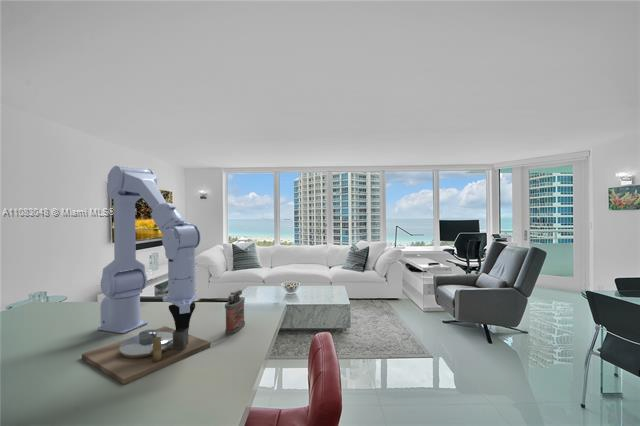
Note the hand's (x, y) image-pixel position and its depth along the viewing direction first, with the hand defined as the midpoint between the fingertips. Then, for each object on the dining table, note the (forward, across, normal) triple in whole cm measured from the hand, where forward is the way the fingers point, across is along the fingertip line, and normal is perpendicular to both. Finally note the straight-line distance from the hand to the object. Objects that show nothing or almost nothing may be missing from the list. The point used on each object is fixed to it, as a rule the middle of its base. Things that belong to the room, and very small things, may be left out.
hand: (182, 334), depth 73 cm
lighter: (+3, -6, +14) cm, 15 cm away
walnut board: (+3, -2, -7) cm, 8 cm away
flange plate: (+2, -1, -6) cm, 6 cm away
